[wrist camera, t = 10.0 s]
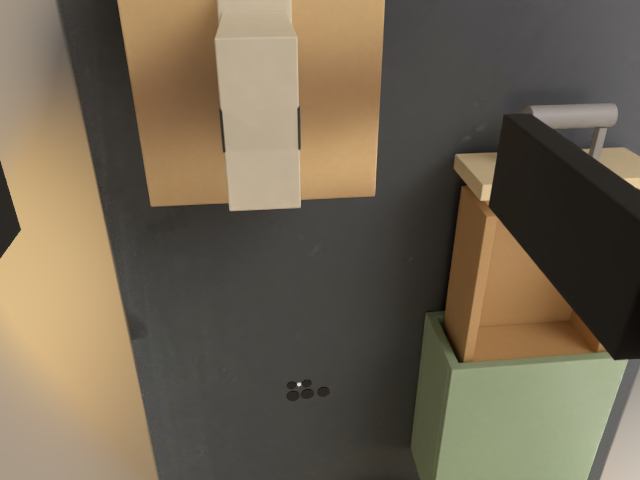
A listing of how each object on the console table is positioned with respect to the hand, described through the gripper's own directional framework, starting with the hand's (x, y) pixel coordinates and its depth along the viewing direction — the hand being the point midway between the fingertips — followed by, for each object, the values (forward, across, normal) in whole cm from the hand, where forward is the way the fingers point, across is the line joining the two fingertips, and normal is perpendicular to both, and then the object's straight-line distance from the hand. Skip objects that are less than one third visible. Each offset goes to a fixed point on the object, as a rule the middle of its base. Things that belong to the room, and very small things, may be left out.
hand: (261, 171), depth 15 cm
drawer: (+24, +21, -16) cm, 36 cm away
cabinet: (+25, +21, -34) cm, 47 cm away
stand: (+26, 0, -1) cm, 26 cm away
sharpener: (+14, 0, 0) cm, 14 cm away
